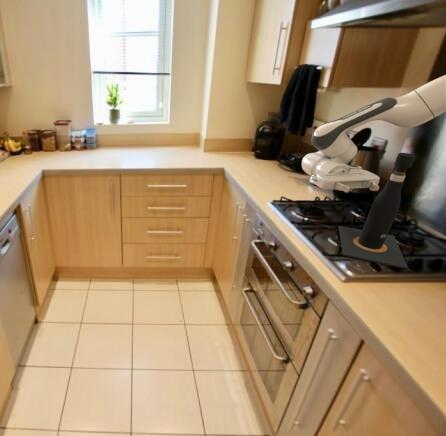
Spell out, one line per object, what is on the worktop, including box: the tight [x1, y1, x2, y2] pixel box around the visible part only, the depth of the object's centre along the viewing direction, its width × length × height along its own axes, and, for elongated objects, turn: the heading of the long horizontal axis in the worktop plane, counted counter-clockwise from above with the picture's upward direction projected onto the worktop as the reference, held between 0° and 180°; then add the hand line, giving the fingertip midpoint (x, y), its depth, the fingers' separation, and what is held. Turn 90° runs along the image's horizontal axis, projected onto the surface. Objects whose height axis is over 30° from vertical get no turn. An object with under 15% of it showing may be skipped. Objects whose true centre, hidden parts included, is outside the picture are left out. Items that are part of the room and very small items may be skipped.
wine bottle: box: [358, 152, 417, 249], centre depth 96 cm, size 6×6×30 cm
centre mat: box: [338, 225, 409, 270], centre depth 103 cm, size 16×20×1 cm
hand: (363, 189), depth 104 cm, fingers open, 8 cm apart
